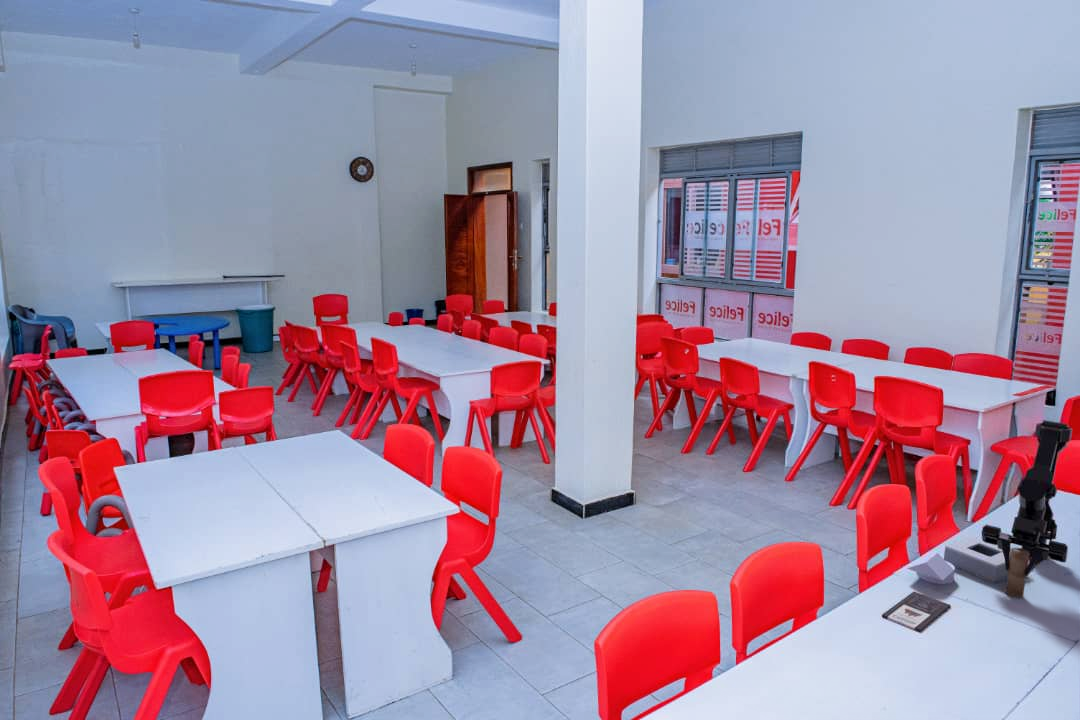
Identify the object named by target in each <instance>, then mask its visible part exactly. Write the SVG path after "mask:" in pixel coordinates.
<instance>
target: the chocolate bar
mask: <svg viewBox="0 0 1080 720" xmlns="http://www.w3.org/2000/svg"><path fill="white" fill-rule="evenodd" d="M951 606H952V605H951V604H949V603H946V602H943V601H941V600H938V599H936V598H933V597H930V596H927V595H924V594H921V593H919V592H918V591H917V592H916V591H912V592H911V593H910V594H908V595H907V596H906V597H904V598H902V599H901V600H900V601H899V602H897V603H896V604H894V605H893V606H891V608H889V609H888V610H887V611H885V612H884V613H882V615H881V617H882V618H884V619H886V620H890V621H891V620H892V621H891V622H894V621H895V622H894V623H896V622H897V624H900V625H901V624H902V625H901V626H904V627H906V626H907V628H909V629H912V630H914V631H917V632H919V633H921V632H922V631H924V629H926V628H927V627H928V626H929V625H930V624H932V623H933V622H934V621H936V620H937V619H938V618H939V617H940V616H942V615H943V614H944V613H945V612H947V609H948V608H949V609H950V608H951ZM949 609H948V610H949ZM943 612H944V613H943ZM942 613H943V614H942ZM938 616H939V617H938ZM936 618H937V619H936Z"/></svg>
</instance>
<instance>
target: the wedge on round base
mask: <svg viewBox="0 0 1080 720" xmlns="http://www.w3.org/2000/svg"><path fill="white" fill-rule="evenodd" d="M906 569H907V570H910V571H913V572H915V573H916V575H917V576H918V577H919V578H920V579H922V580H924V581H926V582H929V583H933V584H937V583H938V585H939V584H940V585H947V583H949V584H951V582H952V583H953V582H954V578H955V571H956V567H954V566H953V565H952V564H951V563H949V562H947V561H945V560H944V557H942V555H940V554H939V553H938V552H936V553H933V554H930V555H927V556H926V555H925V556H924V557H919V558H918V559H916V560H915V561H914V562H912V563H911V564H910V565H909V566H908V567H907V568H906Z"/></svg>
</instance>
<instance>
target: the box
mask: <svg viewBox="0 0 1080 720" xmlns="http://www.w3.org/2000/svg"><path fill="white" fill-rule="evenodd" d="M1010 554H1011V552H1010ZM943 559H944V560H945V561H947V562H949V563H951V564H952V565H953V566H954V567H955V569H959V570H961V571H963V570H964V571H963V572H966V573H968V572H969V573H968V574H971V575H973V574H974V575H973V576H976V575H977V576H976V577H978V578H980V577H981V578H980V579H984V580H986V581H988V582H991V583H993V584H996V583H998V582H1000V581H1002V580H1005V579H1007V574H1008V571H1006V567H1005V559H1004V555H1003V552H1002V550H1001V549H999V548H998V546H997V545H993V544H989V543H985V542H983V540H982V537H978V536H976V535H971V536H969V537H964V538H962V539H960V540H956V541H955V542H952V543H949V544H946V545H945V549H944V553H943ZM1004 578H1005V579H1004Z"/></svg>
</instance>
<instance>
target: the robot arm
mask: <svg viewBox="0 0 1080 720" xmlns="http://www.w3.org/2000/svg"><path fill="white" fill-rule="evenodd" d="M1072 434H1073V428H1071V427H1069V423H1064V422H1057V421H1052V420H1047V419H1046V420H1045V419H1043V420H1042V422H1041V423H1040V422H1037V423H1036V426H1035V431H1034V437H1035V438H1036V439H1037V442H1038V446H1037V449H1036V454H1035V458H1034V462H1033V465H1032V466H1031V467H1030V468H1029V469H1027V470H1026V471H1025V475H1024V477H1021V479H1020V481H1019V483H1018V485H1017V492H1018V503H1019V507H1018V510H1017V516H1015V517H1014V519H1013V524H1012V526H1011V527H1012V528H1011V534H1012V535H1011V534H1009V533H1005V532H1002V528H1001V527H998V526H993V525H989V524H985V525H983V526H982V530H981V538H982V540H983V542H985V543H989V544H993V545H997V546H998V548H999V549H1001V550H1002V552H1003V555H1004V559H1005V567H1006V571H1008V568H1009V561H1010V552H1011V549H1012V548H1011V544H1013V545H1017V546H1020V548H1021V549H1025V550H1027V551H1029V553H1030V554H1029V558H1030V560H1029V561H1028V567H1027V570H1026V577H1028V576H1029V575H1030V574H1031V572H1033V570H1034V569H1035V568H1036V567H1037V566H1038V565H1039V564H1040V563H1042V562H1043V561H1045V562H1048V561H1049V558H1050V559H1051V560H1052V561H1056V562H1059V563H1066V562H1067V558H1068V553H1069V552H1068V551H1069V549H1068V548H1069V547H1068V545H1067V544H1066V543H1063V542H1060V541H1056V539H1057V531H1058V525H1057V522H1056V520H1055V519H1054V512H1053V510H1052V507H1051V505H1050V501H1051V499H1053V498H1055V497H1056V496H1057V494H1058V493H1057V492H1058V489H1057V485H1056V484H1054V481H1055V473H1056V469H1057V463H1058V458H1059V454H1060V453H1062V451H1064V449H1065V448H1066V447H1067V446H1068V443H1069V442H1070V441H1071V439H1072V436H1073V435H1072ZM1047 540H1049V541H1048V543H1047Z"/></svg>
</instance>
